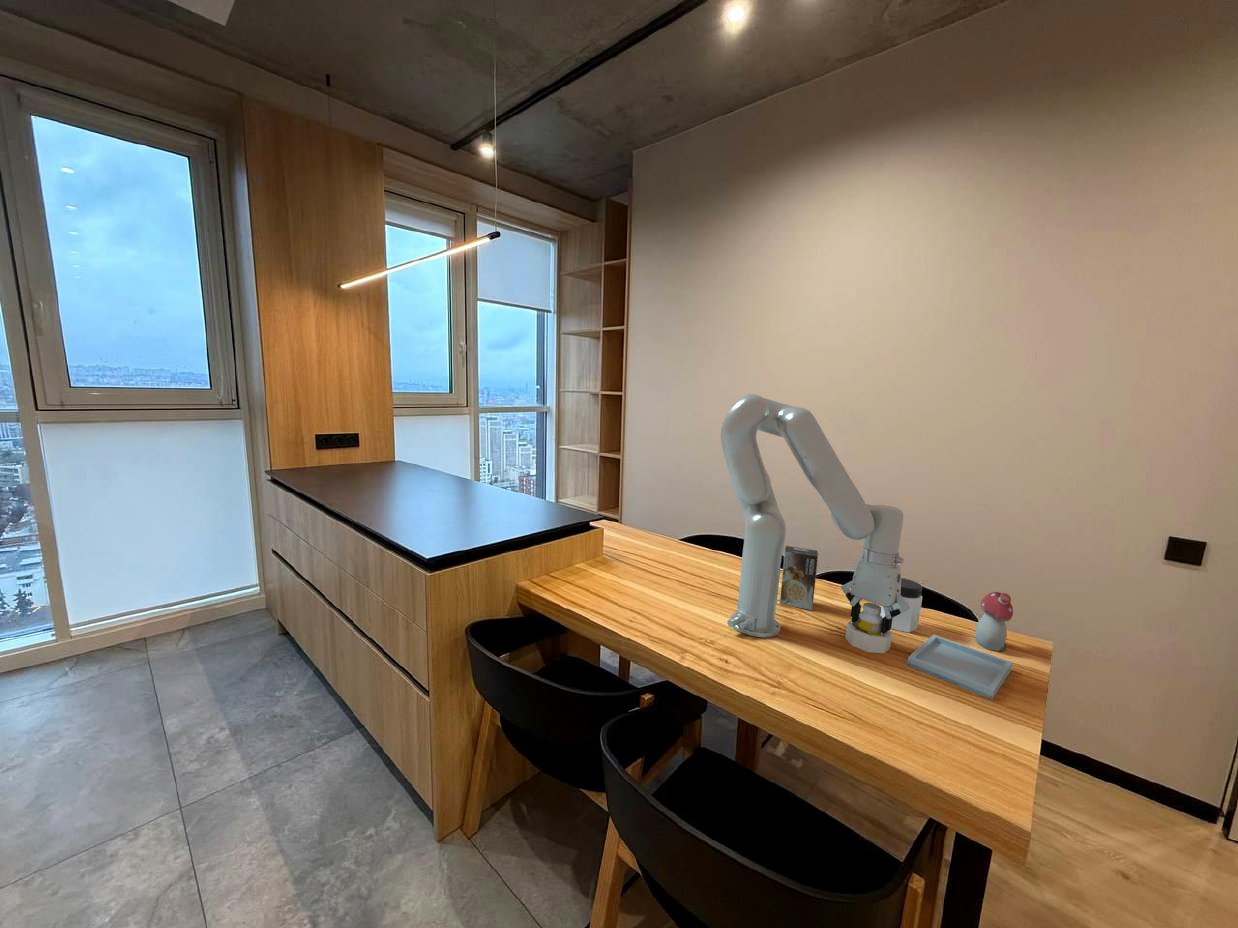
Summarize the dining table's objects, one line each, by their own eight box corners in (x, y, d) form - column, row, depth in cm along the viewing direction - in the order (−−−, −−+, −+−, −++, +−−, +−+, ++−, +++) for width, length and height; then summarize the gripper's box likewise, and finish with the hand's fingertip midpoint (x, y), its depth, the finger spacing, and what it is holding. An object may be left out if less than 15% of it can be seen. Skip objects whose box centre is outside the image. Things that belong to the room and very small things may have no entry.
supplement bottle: (851, 637, 125) (855, 600, 123) (871, 637, 125) (876, 601, 124) (863, 648, 119) (868, 610, 118) (884, 648, 120) (889, 611, 118)
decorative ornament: (1006, 657, 119) (1017, 598, 117) (973, 647, 123) (983, 590, 121) (1005, 642, 127) (1015, 587, 124) (974, 634, 130) (983, 580, 128)
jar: (905, 635, 128) (912, 591, 126) (874, 622, 134) (880, 580, 132) (922, 627, 132) (929, 585, 131) (891, 615, 139) (898, 575, 137)
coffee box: (812, 602, 145) (819, 550, 143) (812, 611, 139) (819, 556, 137) (780, 596, 148) (785, 544, 146) (778, 604, 142) (784, 550, 140)
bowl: (879, 656, 116) (881, 641, 115) (840, 640, 122) (842, 625, 122) (894, 645, 122) (896, 630, 121) (856, 630, 129) (858, 616, 128)
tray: (992, 699, 101) (993, 690, 101) (907, 664, 113) (908, 656, 113) (1010, 670, 113) (1012, 662, 113) (932, 641, 125) (933, 634, 124)
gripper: (924, 564, 115) (913, 635, 118) (850, 544, 128) (841, 609, 130) (913, 570, 110) (902, 645, 113) (837, 549, 123) (828, 616, 125)
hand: (869, 625), depth 121 cm, fingers open, 6 cm apart
